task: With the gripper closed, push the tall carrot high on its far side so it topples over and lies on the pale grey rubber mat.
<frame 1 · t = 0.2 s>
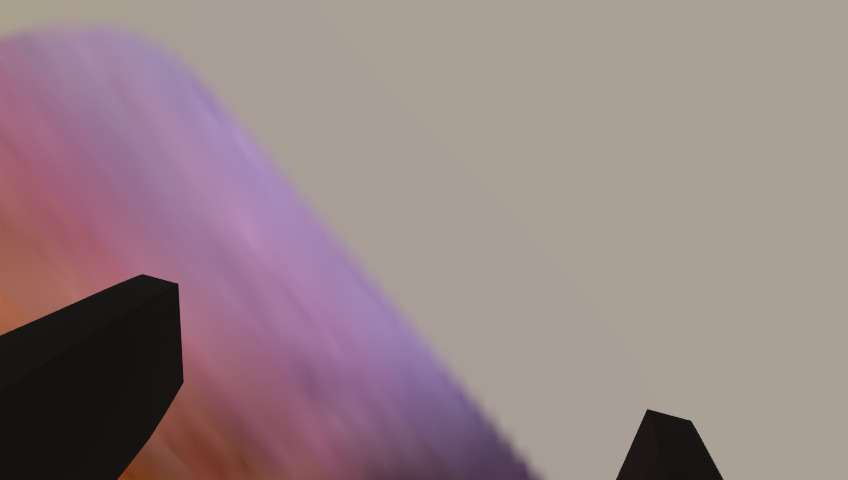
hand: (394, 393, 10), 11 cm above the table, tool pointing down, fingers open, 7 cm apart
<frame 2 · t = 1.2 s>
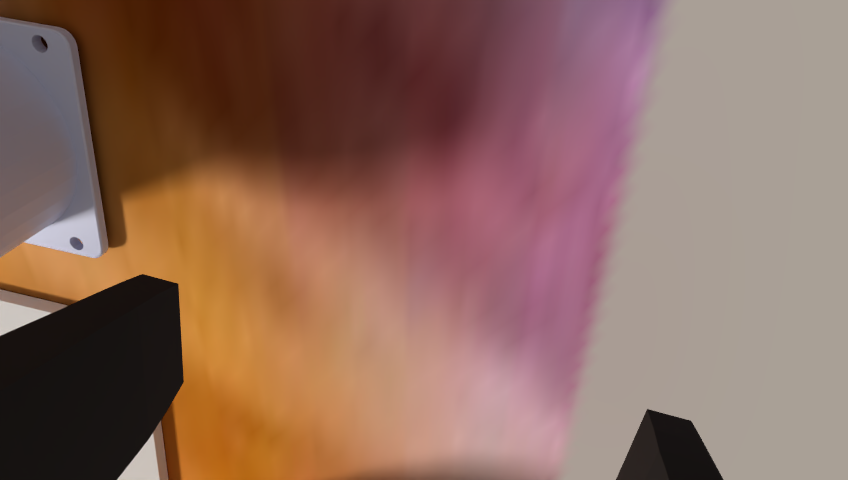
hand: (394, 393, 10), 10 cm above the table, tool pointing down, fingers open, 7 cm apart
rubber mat: (6, 452, 32), on the table
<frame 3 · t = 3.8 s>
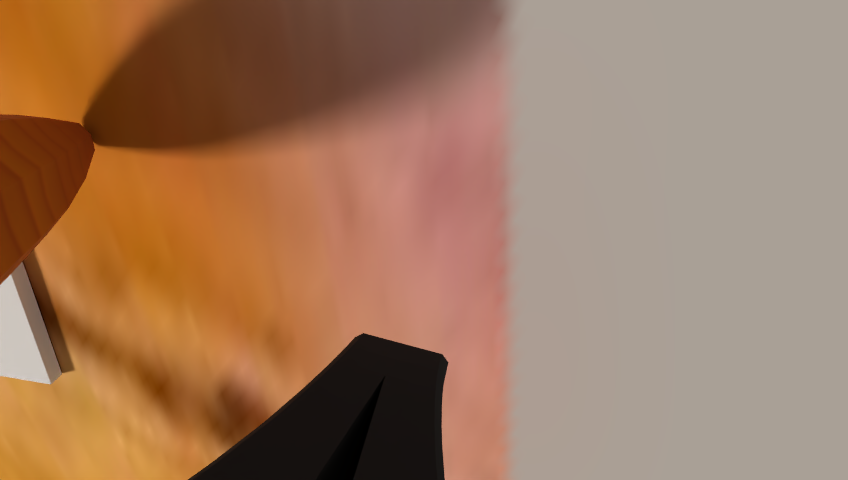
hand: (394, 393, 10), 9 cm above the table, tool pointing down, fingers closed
carrot: (91, 132, 20), on the table
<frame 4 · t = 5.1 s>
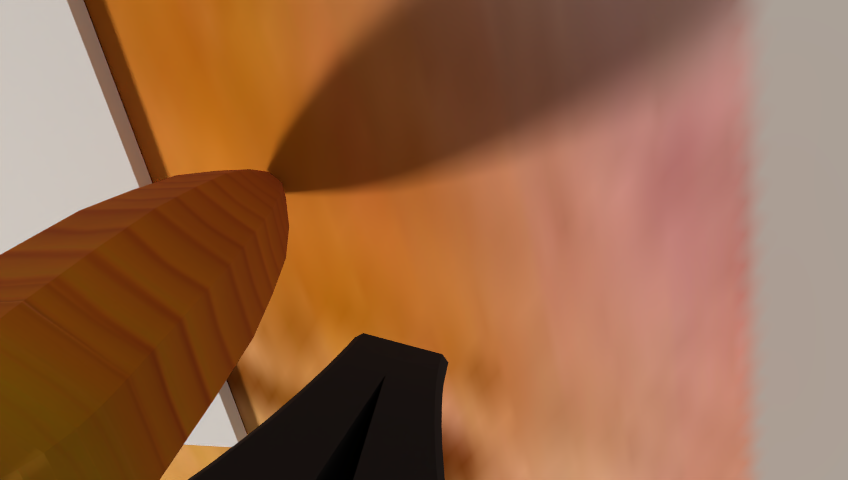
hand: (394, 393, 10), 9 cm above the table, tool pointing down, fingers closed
carrot: (275, 181, 20), on the table
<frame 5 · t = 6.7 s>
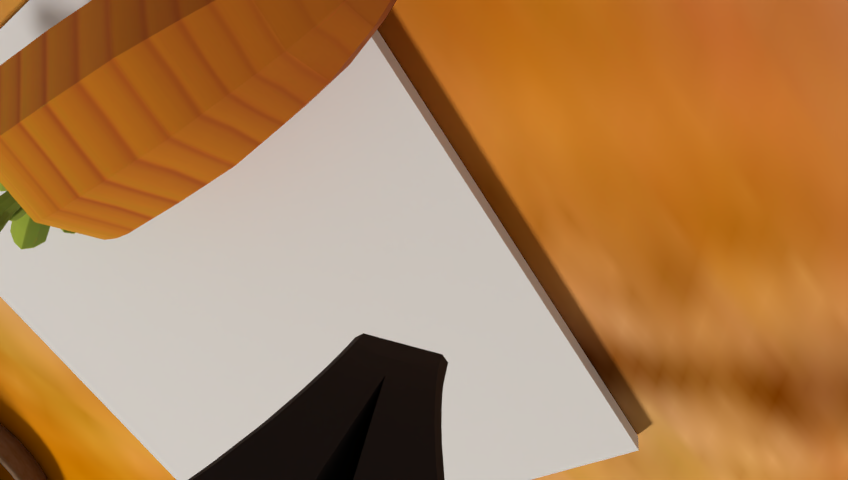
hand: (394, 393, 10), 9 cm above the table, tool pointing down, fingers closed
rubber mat: (249, 289, 22), on the table
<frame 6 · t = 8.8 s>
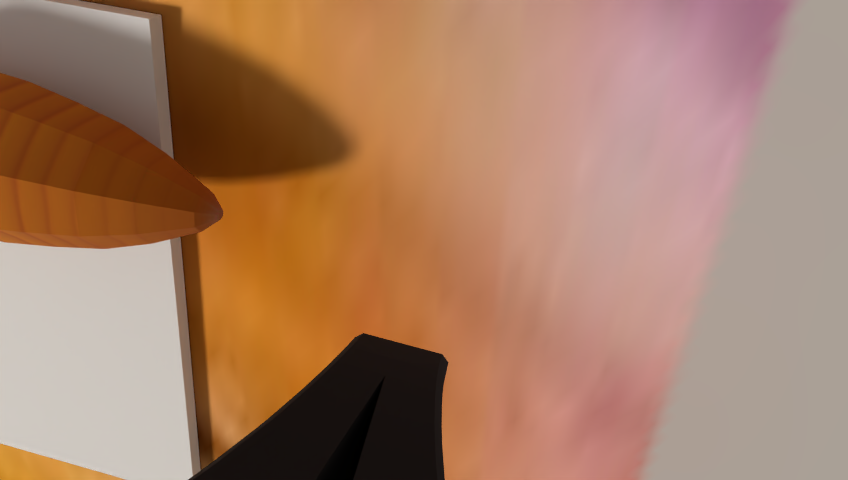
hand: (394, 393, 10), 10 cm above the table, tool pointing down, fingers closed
carrot: (227, 216, 18), point 3 cm above the table, touching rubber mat
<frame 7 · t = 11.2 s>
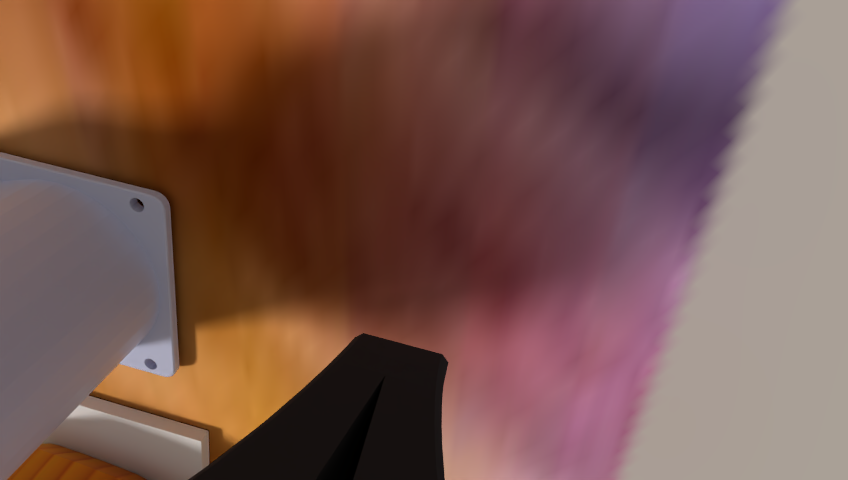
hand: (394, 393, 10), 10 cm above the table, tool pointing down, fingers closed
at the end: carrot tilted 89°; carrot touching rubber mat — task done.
